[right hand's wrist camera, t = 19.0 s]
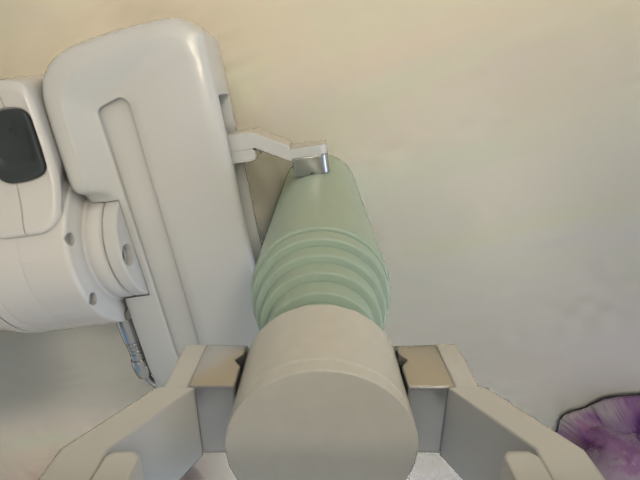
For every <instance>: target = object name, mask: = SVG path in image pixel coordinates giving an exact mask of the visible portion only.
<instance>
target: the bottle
mask: <svg viewBox="0 0 640 480" xmlns="http://www.w3.org/2000/svg"><path fill="white" fill-rule="evenodd" d="M328 158H329V167H330V172H327V173H324V174H315V173H313V172H312V173H311V174H310V175H309V176H304V177H297V178H296V177H295V172H294V166H293V167H292V168H291V169H290V171H289V172H288V175H287V177H286V180H285V183H284V185H283V188H282V191H281V194H280V197H279V200H278V203H277V206H276V208H275V211H274V214H273V217H272V220H271V223H270V226H269V229H268V231H267V234H266V237H265V240H264V243H263V246H262V249H261V251H260V254H259V257H258V260H257V263H256V266H255V269H254V272H253V276H252V282H251V303H252V309H253V313H254V317H255V319H256V322H257V325H258V328H259V331H260V330H261V329H262V328H263V327H264V326H265V325H266V324H268V323H269V322H270V321H272V320H273V319H274V318H276V317H278V316H279V315H280V314H282V313H285V312H288V311H290V310H293V309H296V308H299V307H302V306H307V305H335V306H339V307H344V308H347V309H350V310H354V311H356V312H358V313H360V314H362V315H364V316H365V317H367V318H368V319H370V320H371V321H373V322H374V323H375V324H377V325H378V326H379V327H380V328H381V329H382V330H383V327H384V324H385V320H386V318H387V315H388V311H389V307H390V279H389V274H388V271H387V268H386V265H385V262H384V259H383V257H382V254H381V251H380V248H379V246H378V243H377V240H376V238H375V235H374V232H373V229H372V227H371V224H370V221H369V218H368V216H367V213H366V210H365V207H364V205H363V202H362V199H361V196H360V194H359V191H358V188H357V185H356V183H355V180H354V177H353V175H352V173H351V171H350V169H349V168H348V167H347V165H346V164H345V163H343V162H342V161H341V160H339V159H338V158H336V157H334V156H331V155H328Z"/></svg>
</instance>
